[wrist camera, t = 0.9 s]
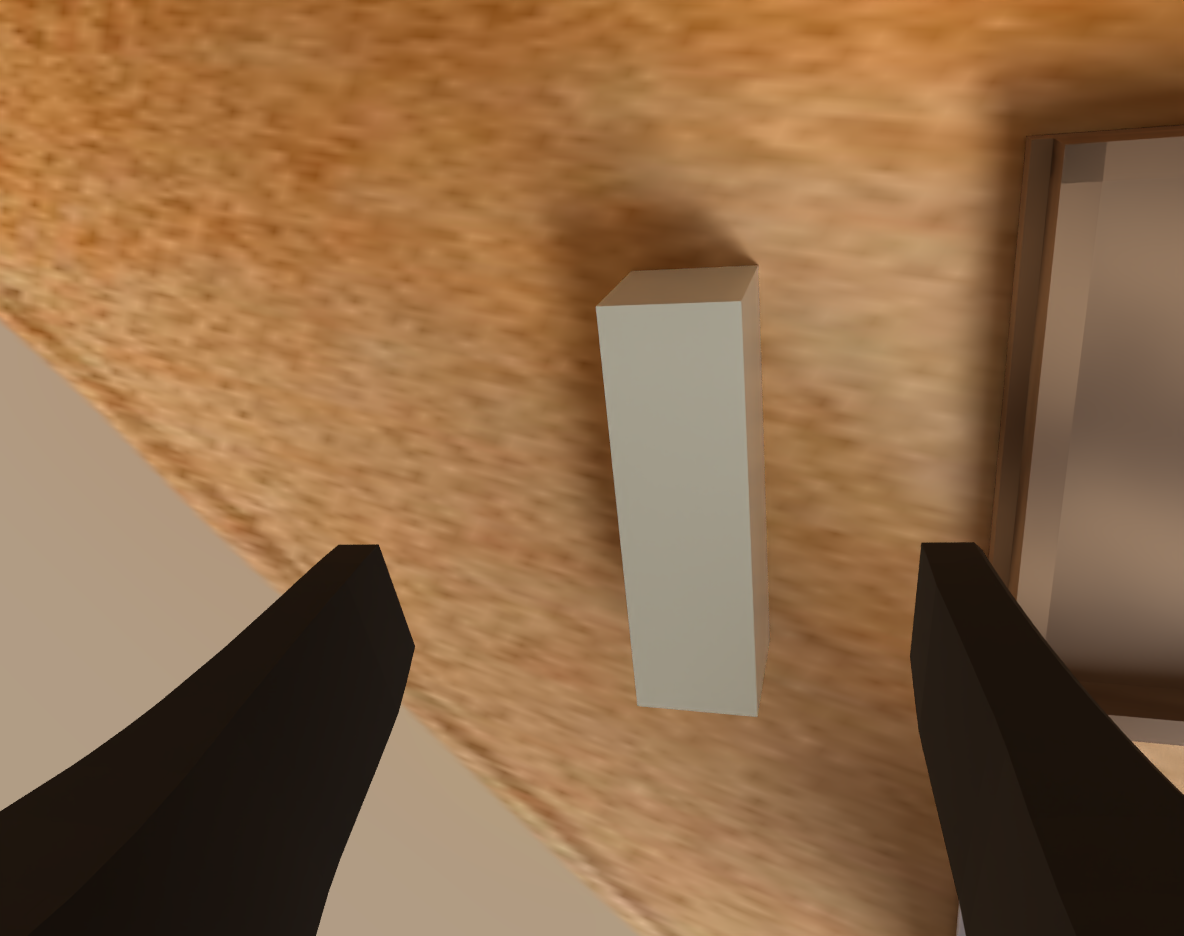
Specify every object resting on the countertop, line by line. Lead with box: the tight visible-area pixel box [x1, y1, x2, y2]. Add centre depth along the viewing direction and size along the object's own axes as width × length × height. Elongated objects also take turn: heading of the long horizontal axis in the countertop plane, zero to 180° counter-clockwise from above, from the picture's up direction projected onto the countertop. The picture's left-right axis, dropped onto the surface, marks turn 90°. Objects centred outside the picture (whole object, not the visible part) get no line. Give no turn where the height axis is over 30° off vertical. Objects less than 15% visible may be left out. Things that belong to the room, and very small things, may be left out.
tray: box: [988, 125, 1184, 746], centre depth 22 cm, size 16×8×2 cm, turn 6°
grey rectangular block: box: [596, 265, 770, 717], centre depth 26 cm, size 12×4×4 cm, turn 6°
